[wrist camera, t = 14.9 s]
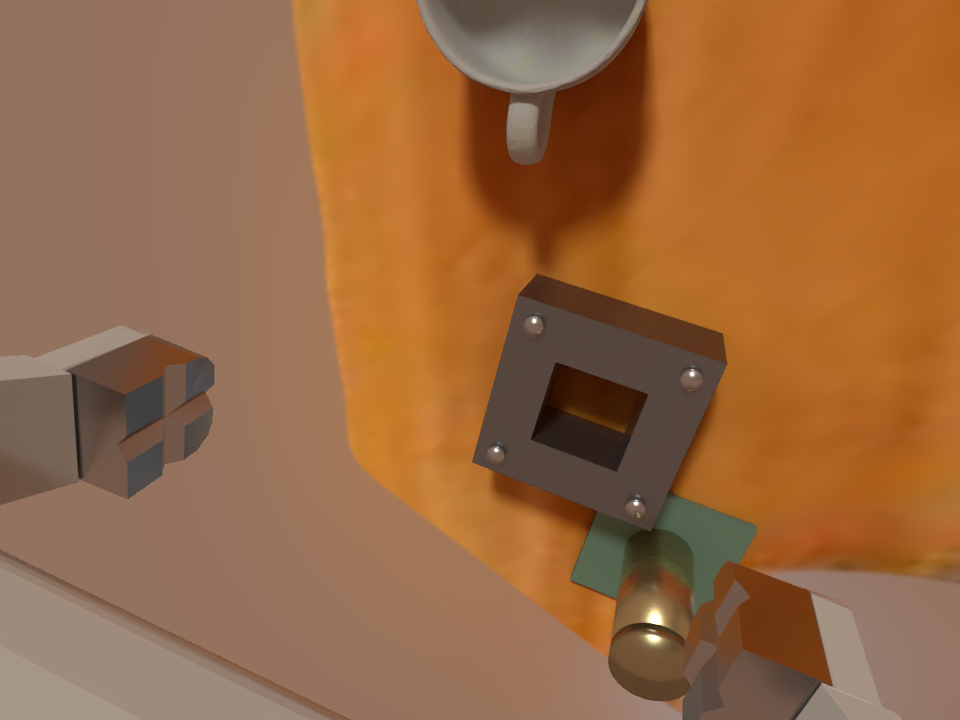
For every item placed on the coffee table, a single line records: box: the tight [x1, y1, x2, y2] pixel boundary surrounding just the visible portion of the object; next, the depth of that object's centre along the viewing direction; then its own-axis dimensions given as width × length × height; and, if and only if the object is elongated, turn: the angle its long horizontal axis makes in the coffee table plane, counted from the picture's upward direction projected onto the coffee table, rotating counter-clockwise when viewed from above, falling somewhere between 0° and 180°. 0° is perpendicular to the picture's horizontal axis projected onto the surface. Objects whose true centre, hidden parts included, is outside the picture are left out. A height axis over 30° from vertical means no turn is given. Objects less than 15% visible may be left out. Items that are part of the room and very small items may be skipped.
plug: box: [608, 529, 695, 701], centre depth 40 cm, size 5×5×10 cm
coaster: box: [570, 493, 757, 615], centre depth 45 cm, size 10×10×1 cm
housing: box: [472, 274, 727, 531], centre depth 39 cm, size 12×12×6 cm
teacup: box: [416, 0, 647, 165], centre depth 31 cm, size 14×11×8 cm
